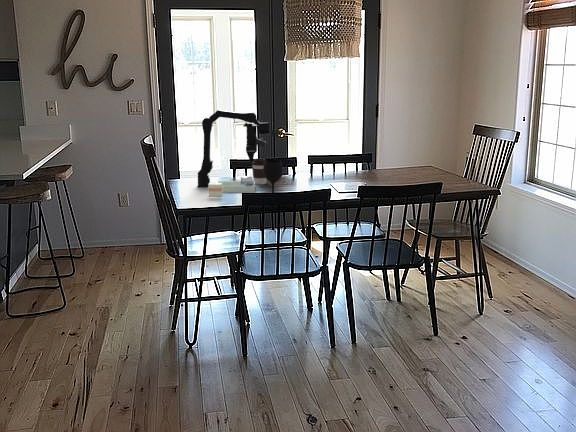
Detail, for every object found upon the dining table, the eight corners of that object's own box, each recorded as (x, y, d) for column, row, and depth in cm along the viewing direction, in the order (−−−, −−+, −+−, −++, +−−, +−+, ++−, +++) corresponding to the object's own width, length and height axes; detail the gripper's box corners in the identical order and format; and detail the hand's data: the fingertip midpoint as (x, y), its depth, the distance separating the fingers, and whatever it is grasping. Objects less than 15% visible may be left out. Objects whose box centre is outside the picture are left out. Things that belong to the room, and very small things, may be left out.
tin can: (240, 190, 348) (240, 178, 346) (240, 188, 354) (240, 176, 352) (252, 190, 348) (252, 178, 346) (252, 188, 354) (252, 176, 353)
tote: (216, 193, 343) (216, 186, 342) (218, 187, 358) (218, 181, 357) (254, 193, 344) (254, 186, 343) (254, 187, 359) (254, 181, 358)
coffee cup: (253, 186, 364) (253, 160, 360) (250, 183, 373) (249, 158, 370) (270, 185, 367) (269, 160, 363) (266, 182, 376) (266, 157, 372)
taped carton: (208, 197, 332) (208, 184, 331) (209, 195, 337) (209, 182, 336) (221, 197, 333) (221, 184, 331) (222, 195, 337) (222, 182, 336)
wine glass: (282, 196, 337) (282, 159, 332) (283, 200, 326) (283, 162, 322) (263, 196, 336) (263, 159, 332) (263, 200, 326) (263, 162, 321)
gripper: (265, 136, 348) (265, 163, 352) (265, 132, 366) (265, 159, 370) (245, 136, 347) (246, 163, 351) (246, 132, 366) (246, 159, 369)
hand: (251, 161), depth 360 cm, fingers open, 9 cm apart
